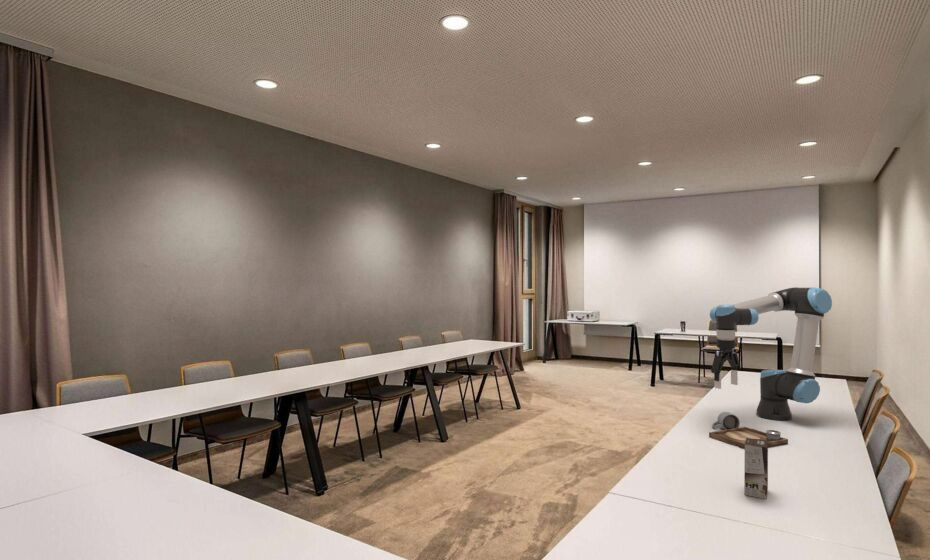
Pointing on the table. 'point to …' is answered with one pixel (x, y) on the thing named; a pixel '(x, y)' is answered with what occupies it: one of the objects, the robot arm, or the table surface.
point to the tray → (743, 437)
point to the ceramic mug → (726, 421)
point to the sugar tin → (772, 435)
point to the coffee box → (756, 468)
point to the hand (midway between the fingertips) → (726, 386)
